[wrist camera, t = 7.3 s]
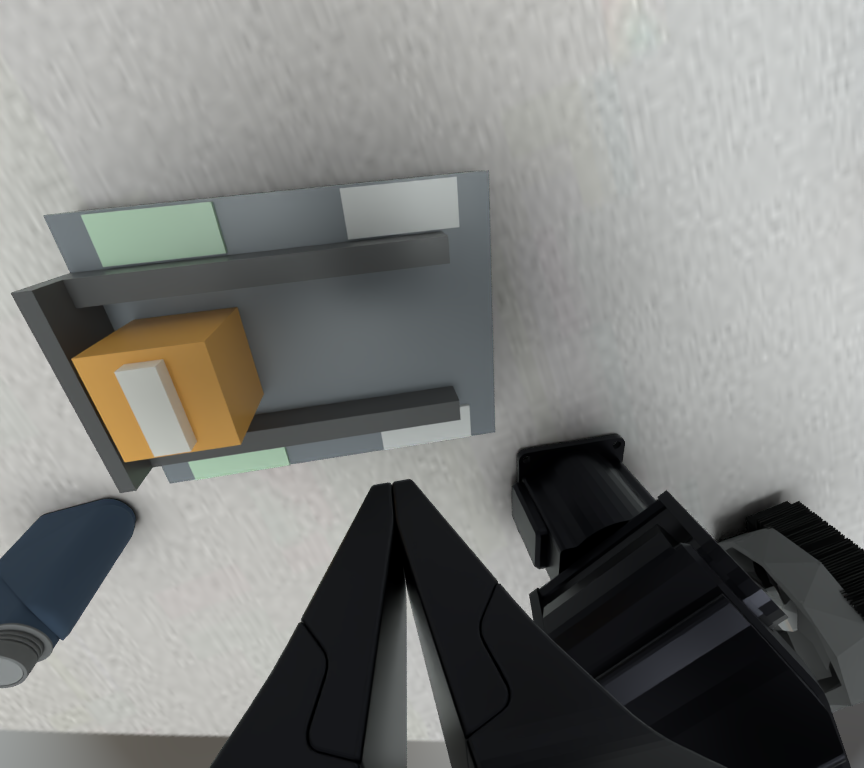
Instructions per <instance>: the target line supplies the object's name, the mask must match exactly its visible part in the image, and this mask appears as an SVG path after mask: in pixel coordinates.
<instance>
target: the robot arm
mask: <svg viewBox="0 0 864 768" xmlns="http://www.w3.org/2000/svg"><path fill="white" fill-rule="evenodd" d="M615 442H617V443H616V444H614V443H615ZM613 444H614V445H613ZM624 447H625V441H624V439H623V438H622V437H621V436H620V435H617V434H613V435H607V436H601V437H595V438H589V439H583V440H577V441H570V442H564V443H558V444H552V445H546V446H540V447H534V448H527V449H523V450H521V451H520V452H519V453H518V454H517V482H515V483H514V485H513V486H512V516H513V519H514V521H515V523H516V526H517V529H518V531H519V533H520V535H521V537H522V539H523V542H524V544H525V546H526V548H527V551H528V553H529V555H530V558H531V560H532V562H533V564H534V566H535V567H536V568H538V569H543V568H546V571H547V573H548V575H549V577H550V579H551V580H550V581H549V582H548V583H546V584H545V585H544V586H542V587H541V588H540V589H539V588H537V589H535V590H534V591H533V592H531V593H530V594H529V597H530V603H531V609H532V615H533V620H532V619H531V618H530V617H529V616H528V615H527V614H526V613H525V611H524V610H523V609H522V608H521V607H520V606H519V605H518V604H517V603H516V602H515V600H514V599H513V598H512V597H511V596H510V595H509V593H508V592H507V591H506V590H505V589H504V588H503V586H502V585H501V584H498V581H497V580H496V578H495V577H494V576H493V575H492V574H491V573H490V571H489V570H488V569H487V568H486V567H485V565H484V564H483V563H482V562H481V561H480V560H479V558H478V557H477V556H476V555H475V554H474V552H473V551H472V550H471V549H470V548H469V547H468V545H467V544H466V543H465V542H464V541H463V539H462V538H461V537H460V536H459V535H458V534H457V532H456V531H455V530H454V529H453V528H452V526H451V525H450V524H449V523H448V522H447V521H446V519H445V518H444V517H443V516H442V515H441V514H440V512H439V511H438V510H437V509H436V508H435V506H434V505H433V504H432V503H431V502H430V501H429V499H428V498H427V497H426V496H425V495H424V493H423V492H422V491H421V490H420V489H419V488H418V486H417V485H416V484H415V483H414V482H413V481H412V480H411V479H407V480H401V481H395V482H394V483H393V484H391V483H383V484H377V485H373V486H372V487H371V489H370V490H369V492H368V494H367V496H366V498H365V500H364V502H363V504H362V505H361V507H360V509H359V511H358V513H357V515H356V517H355V519H354V520H353V522H352V524H351V526H350V528H349V530H348V532H347V534H346V535H345V537H344V539H343V541H342V543H341V545H340V547H339V549H338V551H337V552H336V554H335V556H334V558H333V560H332V562H331V564H330V566H329V567H328V569H327V571H326V573H325V575H324V577H323V579H322V581H321V582H320V584H319V586H318V588H317V590H316V592H315V594H314V596H313V597H312V599H311V601H310V603H309V605H308V607H307V609H306V611H305V612H304V614H303V616H302V618H301V622H300V623H298V625H297V627H296V629H295V631H294V633H293V635H292V636H291V638H290V640H289V642H288V644H287V646H286V647H285V649H284V651H283V653H282V655H281V656H280V658H279V660H278V662H277V663H276V665H275V667H274V669H273V670H272V672H271V674H270V675H269V677H268V679H267V680H266V682H265V683H264V685H263V686H262V688H261V689H260V691H259V693H258V694H257V696H256V697H255V699H254V700H253V702H252V704H251V705H250V707H249V708H248V710H247V711H246V713H245V714H244V716H243V717H242V719H241V720H240V722H239V723H238V725H237V726H236V728H235V729H234V731H233V732H232V734H231V735H230V737H229V738H228V740H227V741H226V743H225V744H224V746H223V747H222V749H221V750H220V752H219V754H218V755H217V757H216V758H215V760H214V761H213V763H212V764H211V766H210V767H209V768H407V626H406V586H407V591H408V596H409V600H410V604H411V608H412V612H413V616H414V620H415V624H416V628H417V632H418V636H419V640H420V644H421V648H422V652H423V656H424V660H425V664H426V668H427V672H428V676H429V680H430V684H431V688H432V692H433V696H434V700H435V703H436V707H437V711H438V715H439V719H440V723H441V727H442V731H443V735H444V739H445V743H446V747H447V751H448V755H449V759H450V763H451V766H452V768H851V767H850V764H849V761H848V758H847V755H846V752H845V749H844V746H843V743H842V740H841V737H840V735H839V732H838V729H837V726H836V723H835V720H834V717H833V714H832V711H831V708H830V705H829V702H828V700H827V697H826V695H825V693H824V691H823V690H822V688H821V686H820V685H819V683H818V682H817V680H816V678H815V677H814V675H813V673H812V672H811V670H810V669H809V667H808V666H807V665H806V663H805V662H804V661H803V660H802V659H801V657H800V656H799V655H798V654H797V653H796V652H795V651H794V650H793V649H792V648H791V647H790V646H789V644H788V643H787V642H786V641H785V640H784V639H783V638H782V637H781V636H780V635H779V634H778V632H777V631H776V630H775V629H774V627H775V626H776V625H778V624H780V623H781V622H783V621H784V620H786V619H788V618H789V617H788V616H787V615H786V614H785V613H784V612H783V611H782V610H781V609H780V608H779V606H778V605H777V604H776V603H775V602H774V601H773V600H772V599H771V598H770V597H769V596H768V595H767V594H766V593H765V592H764V591H763V590H762V589H761V588H760V587H759V585H758V584H757V583H756V582H755V581H754V580H753V579H752V578H751V577H750V576H749V575H748V574H747V573H746V572H745V571H744V570H743V569H742V568H741V567H740V566H739V565H738V564H737V562H736V561H735V560H734V559H733V558H732V557H731V556H730V555H729V554H728V553H727V552H726V551H725V550H724V549H723V548H722V547H721V546H720V545H719V544H718V543H717V542H716V541H715V540H714V539H713V538H712V537H711V536H710V535H709V533H708V532H707V531H706V530H705V529H704V528H703V527H702V526H701V525H700V524H699V523H698V522H697V521H696V520H695V519H694V518H693V517H692V516H691V515H690V514H689V513H688V512H687V511H686V510H685V509H684V508H683V507H682V506H681V505H680V504H679V503H678V502H677V501H676V500H675V499H674V497H673V496H672V495H671V494H670V493H669V492H668V491H667V490H666V491H665V492H663V493H662V494H661V495H659V496H658V498H659V499H658V500H655V499H654V498H653V497H652V496H651V494H650V493H649V492H648V491H647V490H646V489H645V488H644V487H643V486H642V484H641V483H640V482H639V481H638V480H637V479H636V478H635V477H634V476H633V474H632V473H631V472H630V471H629V470H628V469H627V468H626V467H625V466H624V464H623V463H622V461H623V454H624ZM527 456H529V457H528V458H527V459H524V458H525V457H527ZM405 580H406V583H405Z"/></svg>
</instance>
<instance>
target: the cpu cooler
mask: <svg viewBox="0 0 864 768" xmlns="http://www.w3.org/2000/svg"><path fill="white" fill-rule="evenodd" d="M746 520H747V521H746V522H747V527H748V528H747V530H748V532H747V533H744V534H741V535H738V536H735V537H733V538H730V539H727V540H724V541H721V542H718V544H719V545H720V546H721V547H722V548H723V549H724V550H725V551H726V552H727V553H728V554H729V555H730V556H731V557H732V558H733V559H734V560H735V561H736V562H737V564H738V565H739V566H740V567H741V568H742V569H743V570H744V571H745V572H746V573H747V574H748V575H749V576H750V577H751V578H752V579H753V580H754V581H755V582H756V583H757V584H758V585H759V587H760V588H761V589H762V590H763V591H764V592H765V593H766V594H767V595H768V596H769V597H770V598H771V599H772V600H773V601H774V602H775V603H776V604H777V605H778V606H779V608H780V609H781V610H782V611H783V612H784V613H785V614H786V615H787V616H788V617H789V618H788V619H786V620H784V621H783V622H781V623H780V624H778V625H776V626H775V627H774V629H775V630H776V631H777V632H778V634H779V635H780V636H781V637H782V638H783V639H784V640H785V641H786V642H787V643H788V644H789V646H790V647H791V648H792V649H793V650H794V651H795V652H796V653H797V654H798V655H799V656H800V657H801V659H802V660H803V661H804V662H805V663H806V665H807V666H808V667H809V669H810V670H811V672H812V673H813V675H814V677H815V678H816V680H817V682H818V683H819V685H820V686H821V688H822V690H823V691H824V693H825V695H826V697H827V700H828V702H829V705H830V708H831V711H832V713H833V712H836V711H838V710H840V709H842V708H845V707H847V706H853V705H855V704H858V703H861V702H864V549H860V547H859V548H858V545H855V543H854V544H853V541H851V540H850V539H848V538H846V539H844V538H845V535H844V536H843V534H842V535H840V534H841V532H840V531H839V532H838V530H835V528H833V526H831V525H829V526H828V522H826V521H823V519H821V517H819V516H817V514H815V513H814V512H813V513H812V511H810V509H808V507H807V508H806V506H804V504H802V503H800V501H798V502H796V503H793V504H790V503H789V502H788V501H786V502H784V503H782V504H779V505H777V506H774V507H772V508H769V509H767V510H765V511H762V512H760V513H757V514H755V515H752V516H750V517H748V518H746ZM822 521H823V522H822Z"/></svg>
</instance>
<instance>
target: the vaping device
mask: <svg viewBox="0 0 864 768" xmlns="http://www.w3.org/2000/svg"><path fill="white" fill-rule="evenodd" d="M135 522H136V517H135V514H134V512H133V511H132V509H131V508H130V507H129V506H127V505H126V504H125V503H123V502H121V501H118V500H115V499H101V500H98V501H94V502H90V503H86V504H83V505H79V506H75V507H71V508H68V509H64V510H60V511H56V512H53V513H49V514H45V515H42V516H41V517H40V518H39V519H38V520H37V521H36V522H35V523H34V524H33V525H32V526H31V527H30V528H29V529H28V530H27V531H26V532H25V533H24V534H23V535H22V537H21V538H20V539H19V540H18V541H17V542H16V543H15V544H14V545H13V546H12V547H11V548H10V549H9V550H8V551H7V552H6V553H5V554H4V556H3V557H2V558H1V559H0V688H8V687H13V686H16V685H18V684H20V683H22V682H23V681H24V680H25V679H26V678H27V676H28V675H29V673H30V672H31V670H32V669H33V667H34V666H35V664H36V663H37V662H39V661H42V660H44V659H46V658H47V657H49V656H50V654H51V653H52V651H53V648H54V647H55V645H56V644H57V642H58V641H59V639H61V640H64V639H65V638H66V637H67V636H68V635H69V633H70V632H71V631H72V629H73V627H74V626H75V624H76V623H77V621H78V620H79V618H80V616H81V615H82V613H83V612H84V610H85V609H86V607H87V606H88V604H89V602H90V601H91V599H92V598H93V596H94V595H95V593H96V591H97V590H98V588H99V587H100V585H101V584H102V582H103V581H104V579H105V577H106V576H107V574H108V573H109V571H110V570H111V568H112V566H113V565H114V563H115V562H116V560H117V559H118V557H119V556H120V554H121V552H122V551H123V549H124V548H125V546H126V545H127V543H128V542H129V540H130V538H131V537H132V534H133V531H134V528H135Z"/></svg>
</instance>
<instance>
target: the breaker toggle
mask: <svg viewBox="0 0 864 768" xmlns="http://www.w3.org/2000/svg"><path fill="white" fill-rule="evenodd" d="M71 360H72V362H73V364H74V366H75V367H76V369H77V371H78V373H79V375H80V377H81V379H82V381H83V383H84V385H85V387H86V389H87V391H88V393H89V394H90V396H91V398H92V400H93V402H94V404H95V406H96V408H97V410H98V412H99V414H100V416H101V418H102V419H103V421H104V423H105V425H106V427H107V429H108V431H109V433H110V435H111V437H112V439H113V441H114V443H115V445H116V446H117V448H118V450H119V452H120V454H121V456H122V458H123V460H124V462H131V461H137V460H144V459H150V458H157V457H163V456H170V455H177V454H183V453H190V452H196V451H203V450H209V449H216V448H222V447H229V446H236V445H241V443H242V441H243V439H244V437H245V434H246V432H247V430H248V428H249V426H250V423H251V421H252V419H253V417H254V415H255V412H256V410H257V408H258V406H259V404H260V401H261V399H262V397H263V395H264V393H263V389H262V386H261V383H260V380H259V376H258V373H257V370H256V367H255V363H254V360H253V357H252V353H251V350H250V347H249V344H248V340H247V337H246V334H245V331H244V327H243V324H242V321H241V317H240V314H239V311H238V308H237V307H233V308H224V309H216V310H208V311H200V312H192V313H184V314H176V315H168V316H160V317H152V318H144V319H136V320H132V321H130V322H129V323H127V324H126V325H124V326H123V327H121V328H119V329H118V330H116V331H115V332H113V333H111V334H110V335H108V336H107V337H105V338H104V339H102V340H100V341H99V342H97V343H96V344H94V345H92V346H91V347H89V348H88V349H86V350H84V351H83V352H81V353H80V354H78V355H77V356H75V357H73V358H72V359H71Z"/></svg>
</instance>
